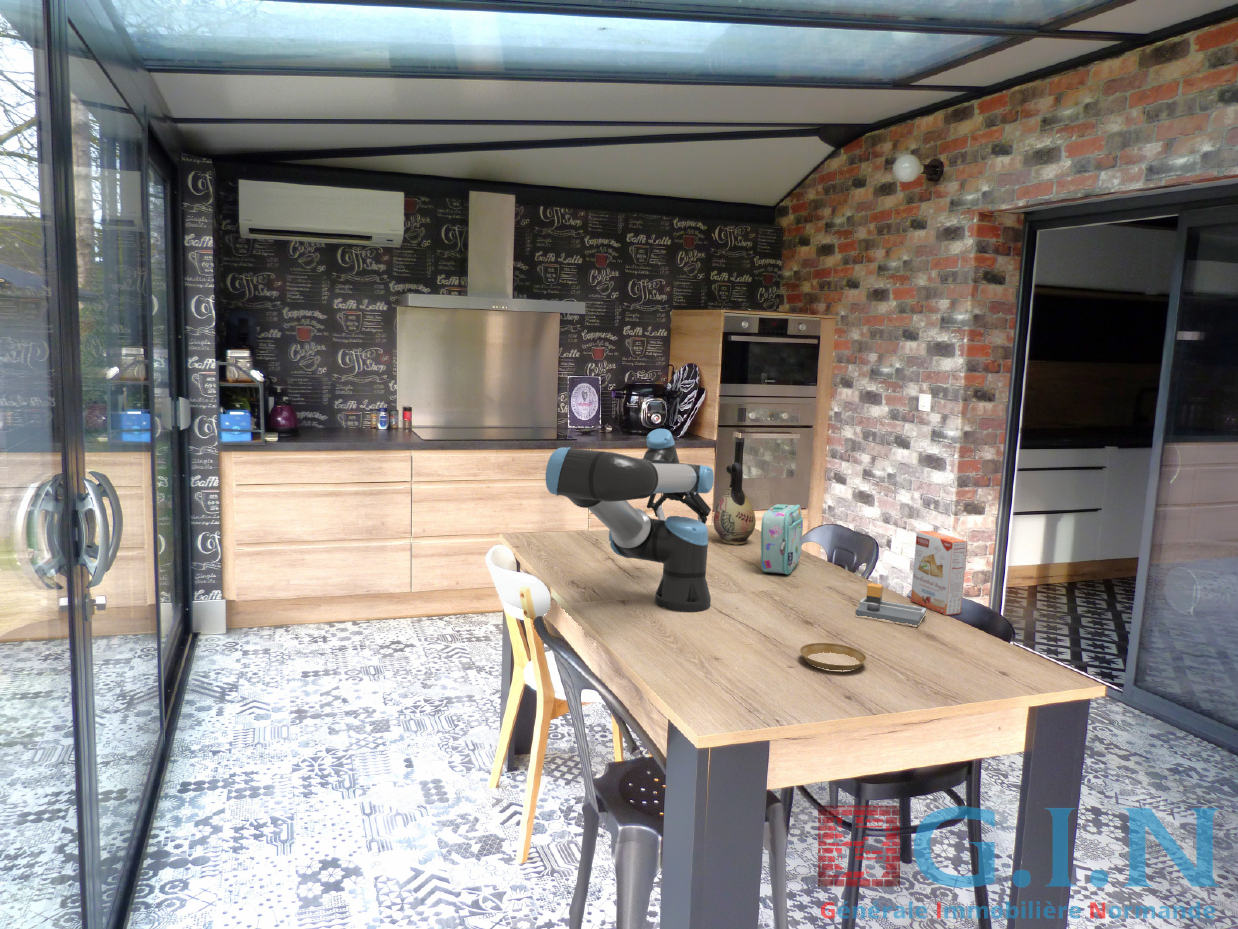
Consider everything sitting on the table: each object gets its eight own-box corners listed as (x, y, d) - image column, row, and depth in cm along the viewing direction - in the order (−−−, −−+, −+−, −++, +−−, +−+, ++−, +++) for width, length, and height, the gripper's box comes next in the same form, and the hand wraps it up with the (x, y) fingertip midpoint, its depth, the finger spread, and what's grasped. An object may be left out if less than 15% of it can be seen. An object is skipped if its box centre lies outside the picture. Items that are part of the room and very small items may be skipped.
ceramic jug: (707, 537, 331) (712, 458, 327) (748, 538, 333) (753, 459, 329) (717, 547, 314) (723, 464, 310) (760, 548, 316) (765, 465, 312)
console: (918, 628, 229) (920, 614, 228) (853, 616, 236) (854, 603, 236) (927, 615, 241) (928, 602, 240) (865, 604, 249) (866, 591, 248)
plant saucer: (879, 674, 194) (880, 662, 194) (819, 678, 190) (820, 666, 190) (843, 651, 208) (844, 641, 208) (787, 655, 204) (788, 644, 204)
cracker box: (909, 602, 254) (915, 530, 251) (925, 600, 256) (932, 529, 253) (944, 616, 241) (951, 541, 238) (961, 614, 243) (968, 540, 241)
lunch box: (789, 580, 273) (794, 511, 270) (756, 575, 276) (761, 508, 273) (802, 562, 298) (806, 499, 295) (771, 558, 301) (776, 496, 298)
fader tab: (879, 606, 239) (880, 587, 239) (865, 604, 241) (867, 585, 240) (881, 603, 242) (883, 585, 241) (868, 601, 244) (869, 583, 243)
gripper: (713, 471, 254) (725, 523, 267) (636, 462, 265) (651, 512, 278) (704, 488, 249) (717, 540, 262) (626, 479, 261) (642, 529, 274)
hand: (683, 526), depth 270 cm, fingers open, 13 cm apart
